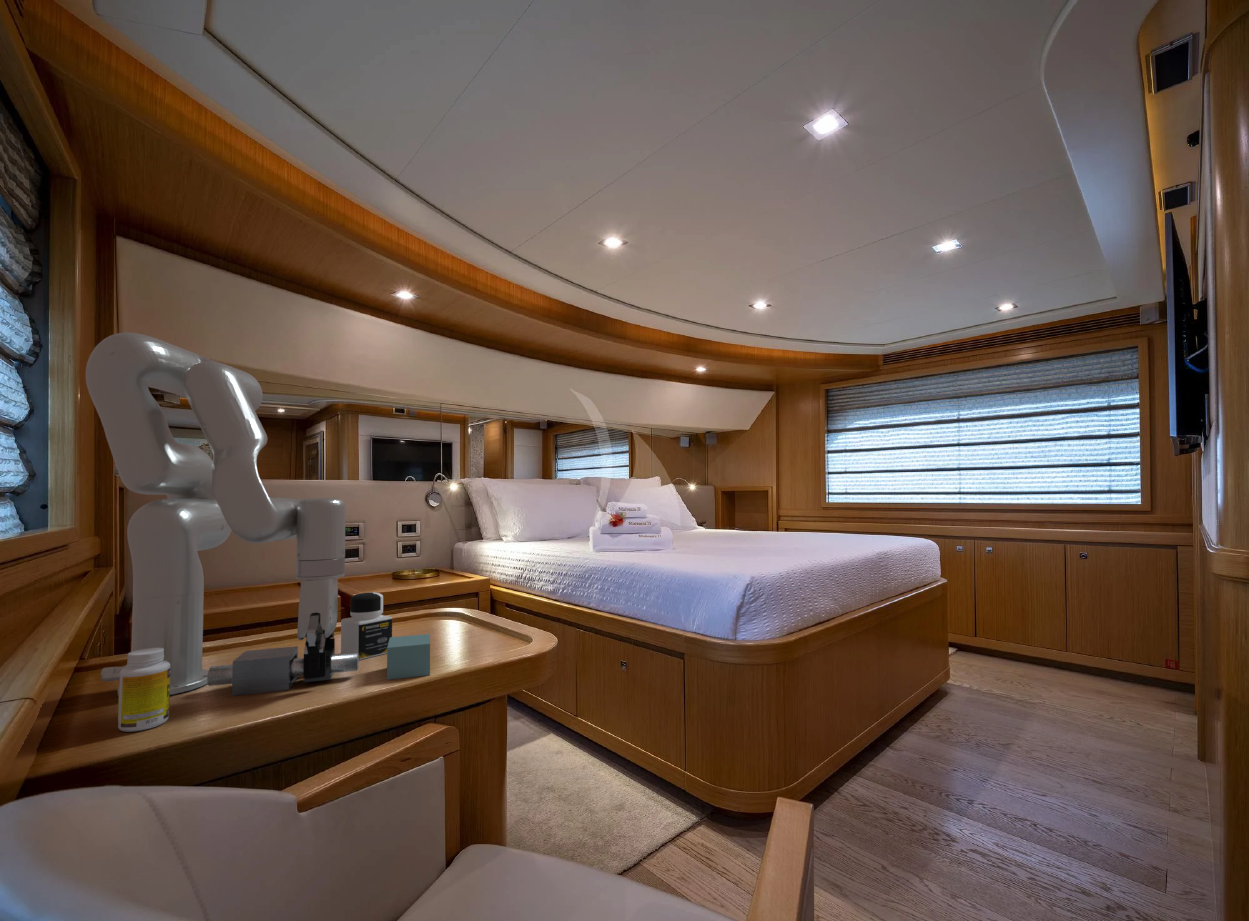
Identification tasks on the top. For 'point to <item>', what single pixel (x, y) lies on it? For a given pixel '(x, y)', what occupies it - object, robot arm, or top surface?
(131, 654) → the supplement bottle
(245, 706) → the top surface
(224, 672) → the grey long rod
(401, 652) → the block
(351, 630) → the medicine bottle
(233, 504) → the robot arm
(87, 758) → the top surface
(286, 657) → the sleeve
